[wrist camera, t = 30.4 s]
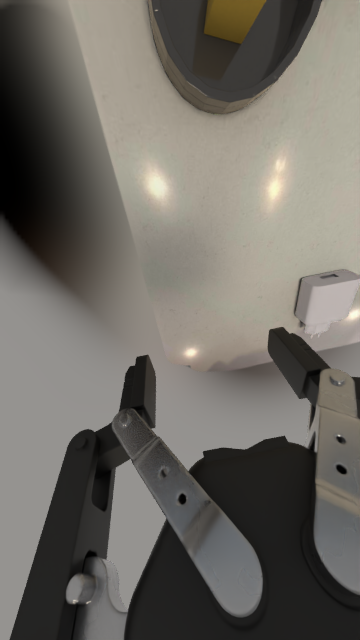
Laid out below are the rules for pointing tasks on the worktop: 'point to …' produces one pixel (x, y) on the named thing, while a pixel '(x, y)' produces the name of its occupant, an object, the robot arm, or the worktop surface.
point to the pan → (228, 51)
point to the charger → (326, 299)
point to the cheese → (231, 18)
